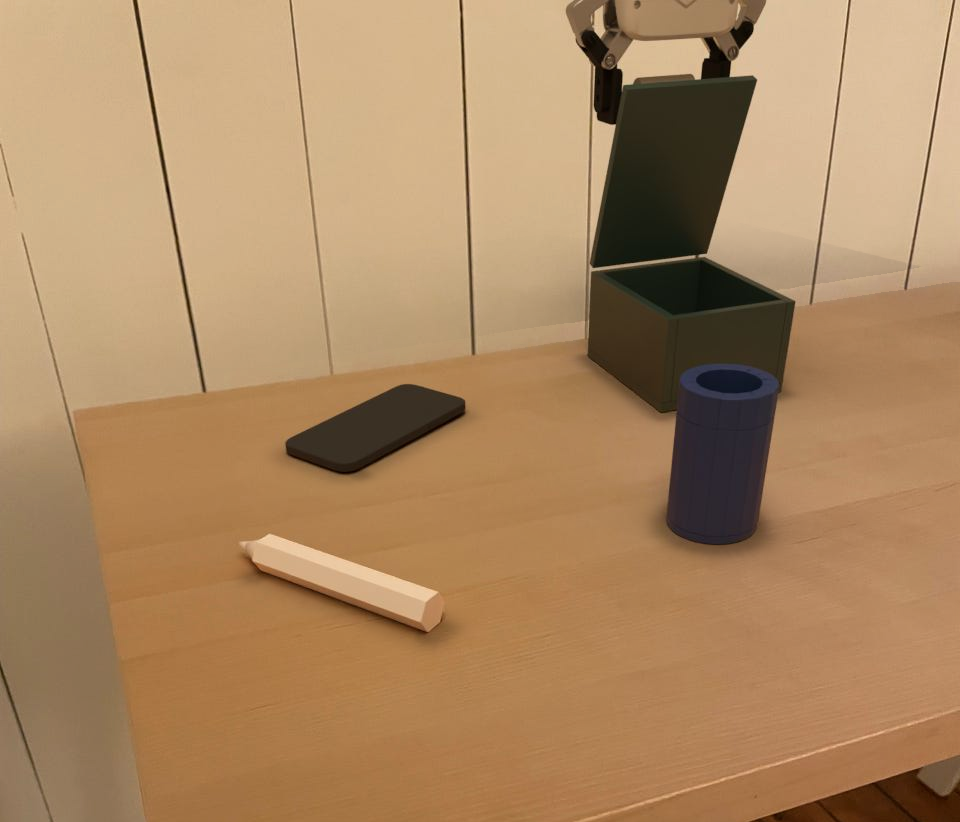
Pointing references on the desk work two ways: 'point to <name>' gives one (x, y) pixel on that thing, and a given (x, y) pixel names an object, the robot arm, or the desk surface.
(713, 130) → the lid
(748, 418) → the jar
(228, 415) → the desk surface
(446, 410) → the phone
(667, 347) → the chest
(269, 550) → the wooden pencil
